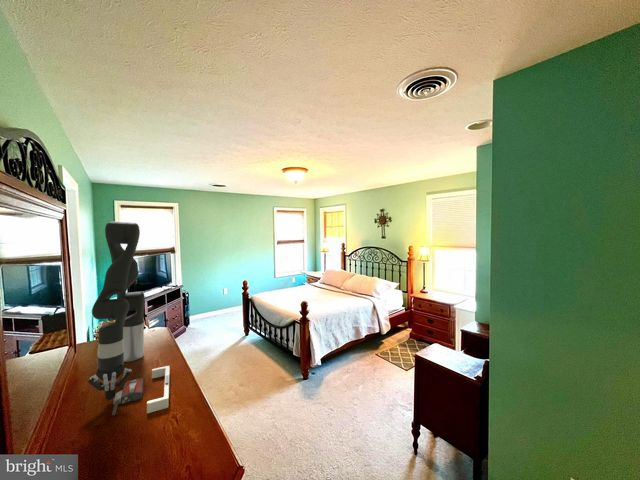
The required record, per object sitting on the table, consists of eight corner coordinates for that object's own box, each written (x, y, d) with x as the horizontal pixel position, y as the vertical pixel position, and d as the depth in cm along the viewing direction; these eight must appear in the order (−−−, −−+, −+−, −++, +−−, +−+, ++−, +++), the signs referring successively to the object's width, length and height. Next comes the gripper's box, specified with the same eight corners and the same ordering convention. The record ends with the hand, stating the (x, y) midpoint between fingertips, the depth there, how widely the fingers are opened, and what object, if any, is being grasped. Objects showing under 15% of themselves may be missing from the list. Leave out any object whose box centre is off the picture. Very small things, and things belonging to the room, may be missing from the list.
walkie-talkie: (118, 388, 103) (109, 419, 86) (118, 378, 103) (109, 407, 86) (144, 382, 108) (140, 410, 91) (144, 372, 108) (140, 398, 91)
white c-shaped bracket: (152, 376, 111) (152, 367, 111) (169, 373, 115) (169, 364, 115) (146, 413, 89) (146, 402, 89) (168, 407, 92) (168, 396, 92)
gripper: (134, 345, 100) (134, 388, 100) (90, 352, 94) (90, 398, 94) (131, 353, 94) (131, 399, 94) (84, 361, 87) (83, 410, 87)
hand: (110, 398), depth 94 cm, fingers closed
